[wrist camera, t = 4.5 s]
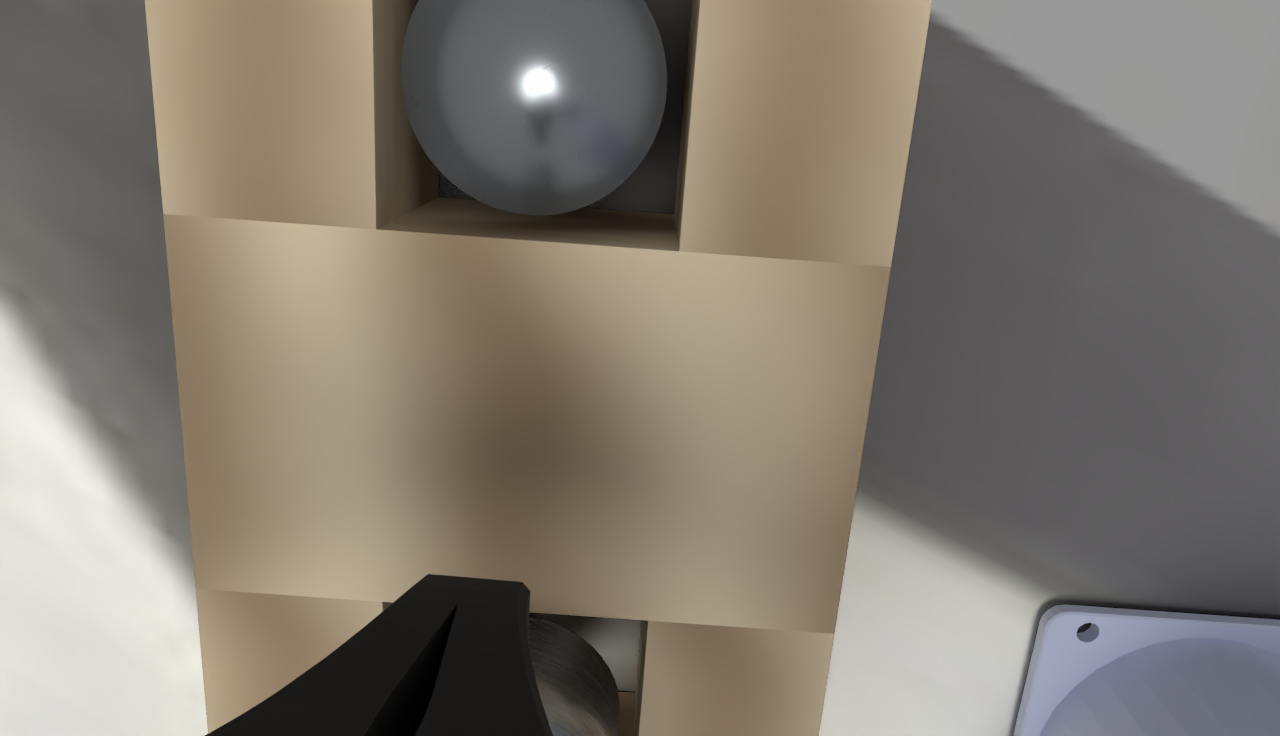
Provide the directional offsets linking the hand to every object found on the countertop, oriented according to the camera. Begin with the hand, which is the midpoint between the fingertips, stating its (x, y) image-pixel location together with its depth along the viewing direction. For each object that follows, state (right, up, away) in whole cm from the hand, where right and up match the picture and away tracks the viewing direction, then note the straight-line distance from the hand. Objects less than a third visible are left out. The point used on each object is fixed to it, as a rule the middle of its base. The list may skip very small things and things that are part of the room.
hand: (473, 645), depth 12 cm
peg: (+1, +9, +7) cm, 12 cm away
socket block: (0, +4, +9) cm, 9 cm away
